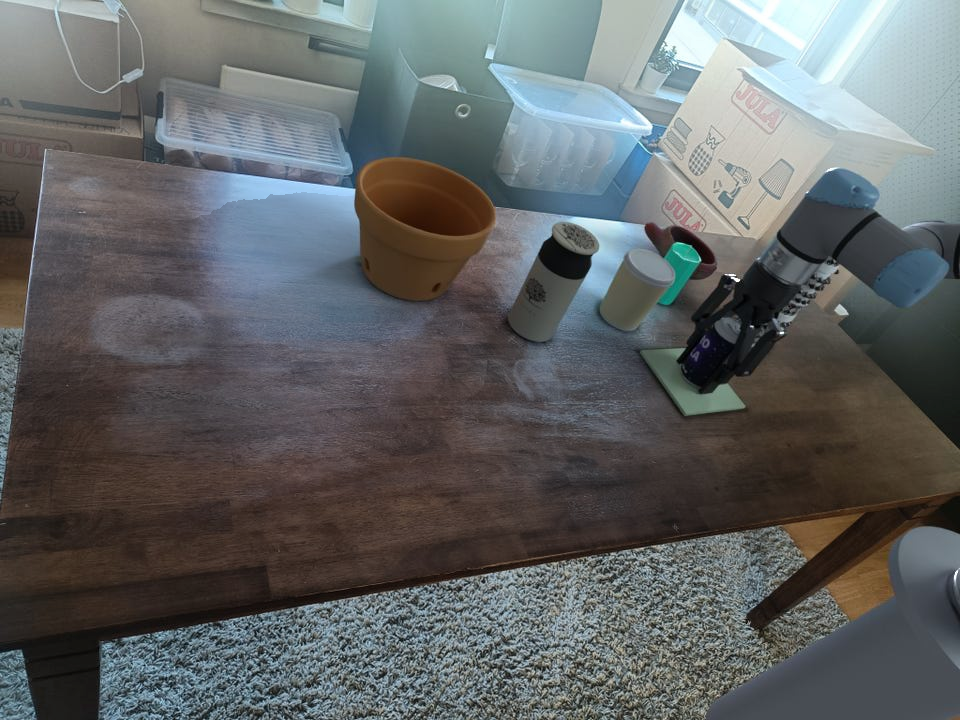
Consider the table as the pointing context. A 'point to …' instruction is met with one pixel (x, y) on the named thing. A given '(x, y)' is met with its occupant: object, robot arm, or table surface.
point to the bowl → (681, 235)
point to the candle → (680, 269)
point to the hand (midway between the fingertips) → (693, 376)
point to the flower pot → (418, 225)
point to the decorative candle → (803, 295)
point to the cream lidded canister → (636, 288)
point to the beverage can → (711, 351)
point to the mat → (688, 385)
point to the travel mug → (553, 281)
